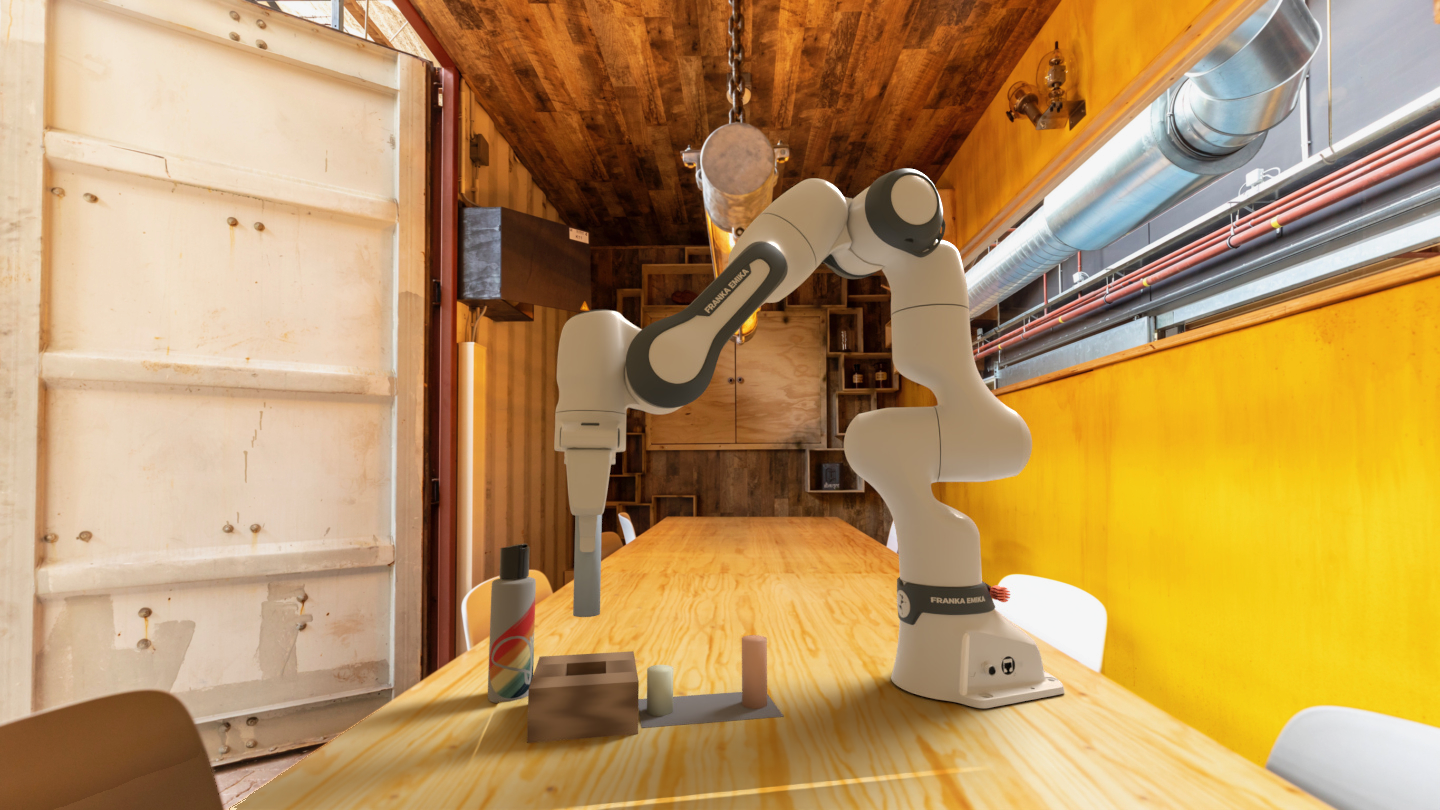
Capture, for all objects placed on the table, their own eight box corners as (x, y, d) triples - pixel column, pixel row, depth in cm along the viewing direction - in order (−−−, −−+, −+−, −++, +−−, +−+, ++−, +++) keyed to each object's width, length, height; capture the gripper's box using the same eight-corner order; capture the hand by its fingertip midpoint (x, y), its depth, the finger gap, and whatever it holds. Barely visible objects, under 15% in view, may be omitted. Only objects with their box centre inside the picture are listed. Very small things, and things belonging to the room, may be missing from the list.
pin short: (671, 705, 77) (671, 664, 78) (674, 715, 74) (674, 672, 75) (645, 707, 76) (646, 665, 77) (647, 717, 73) (648, 673, 74)
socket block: (632, 698, 80) (633, 651, 81) (637, 737, 69) (638, 681, 69) (538, 705, 78) (539, 656, 79) (526, 746, 67) (528, 688, 67)
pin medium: (763, 698, 79) (763, 634, 80) (770, 707, 76) (769, 641, 77) (739, 700, 79) (739, 635, 80) (745, 709, 76) (744, 642, 76)
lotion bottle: (518, 705, 78) (523, 546, 80) (478, 702, 79) (484, 545, 81) (540, 690, 84) (544, 541, 86) (502, 687, 85) (507, 540, 87)
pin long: (600, 610, 76) (602, 497, 78) (599, 616, 73) (602, 498, 75) (573, 612, 76) (576, 497, 78) (572, 617, 73) (575, 498, 74)
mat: (764, 693, 82) (764, 690, 82) (784, 719, 73) (784, 716, 74) (637, 702, 79) (637, 699, 79) (641, 731, 70) (641, 727, 70)
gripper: (569, 442, 87) (566, 541, 85) (559, 430, 67) (555, 560, 65) (614, 443, 88) (612, 541, 86) (618, 431, 68) (615, 558, 66)
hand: (587, 549), depth 76 cm, fingers closed on pin long, 3 cm apart
